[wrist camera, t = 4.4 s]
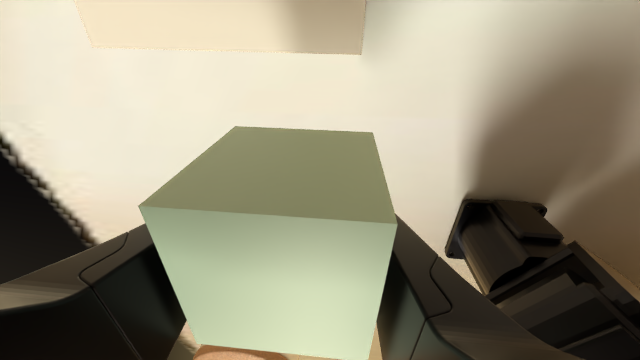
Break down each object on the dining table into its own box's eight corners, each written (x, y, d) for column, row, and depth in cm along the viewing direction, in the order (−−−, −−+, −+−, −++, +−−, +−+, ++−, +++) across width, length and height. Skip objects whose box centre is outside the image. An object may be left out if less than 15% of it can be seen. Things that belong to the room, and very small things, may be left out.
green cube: (359, 238, 11) (367, 362, 7) (251, 230, 12) (196, 343, 7) (372, 132, 9) (397, 223, 5) (235, 126, 9) (138, 205, 5)
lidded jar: (205, 291, 31) (156, 381, 23) (278, 269, 28) (250, 365, 20) (254, 337, 35) (226, 427, 27) (321, 323, 32) (313, 420, 24)
